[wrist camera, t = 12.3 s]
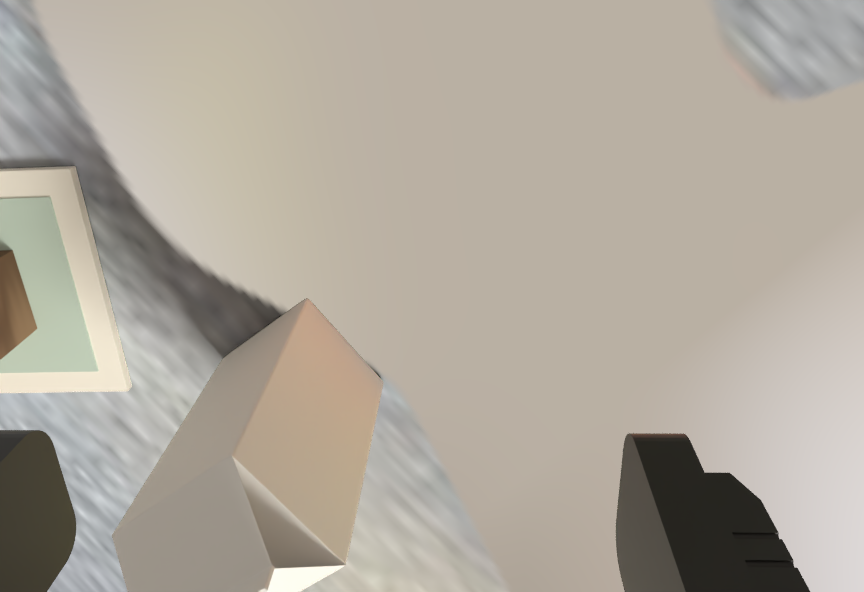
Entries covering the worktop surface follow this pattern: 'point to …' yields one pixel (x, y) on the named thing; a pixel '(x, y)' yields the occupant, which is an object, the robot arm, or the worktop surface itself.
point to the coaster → (58, 288)
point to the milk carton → (259, 469)
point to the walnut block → (13, 305)
